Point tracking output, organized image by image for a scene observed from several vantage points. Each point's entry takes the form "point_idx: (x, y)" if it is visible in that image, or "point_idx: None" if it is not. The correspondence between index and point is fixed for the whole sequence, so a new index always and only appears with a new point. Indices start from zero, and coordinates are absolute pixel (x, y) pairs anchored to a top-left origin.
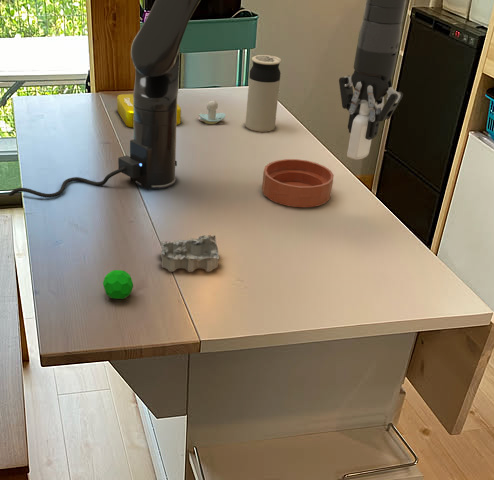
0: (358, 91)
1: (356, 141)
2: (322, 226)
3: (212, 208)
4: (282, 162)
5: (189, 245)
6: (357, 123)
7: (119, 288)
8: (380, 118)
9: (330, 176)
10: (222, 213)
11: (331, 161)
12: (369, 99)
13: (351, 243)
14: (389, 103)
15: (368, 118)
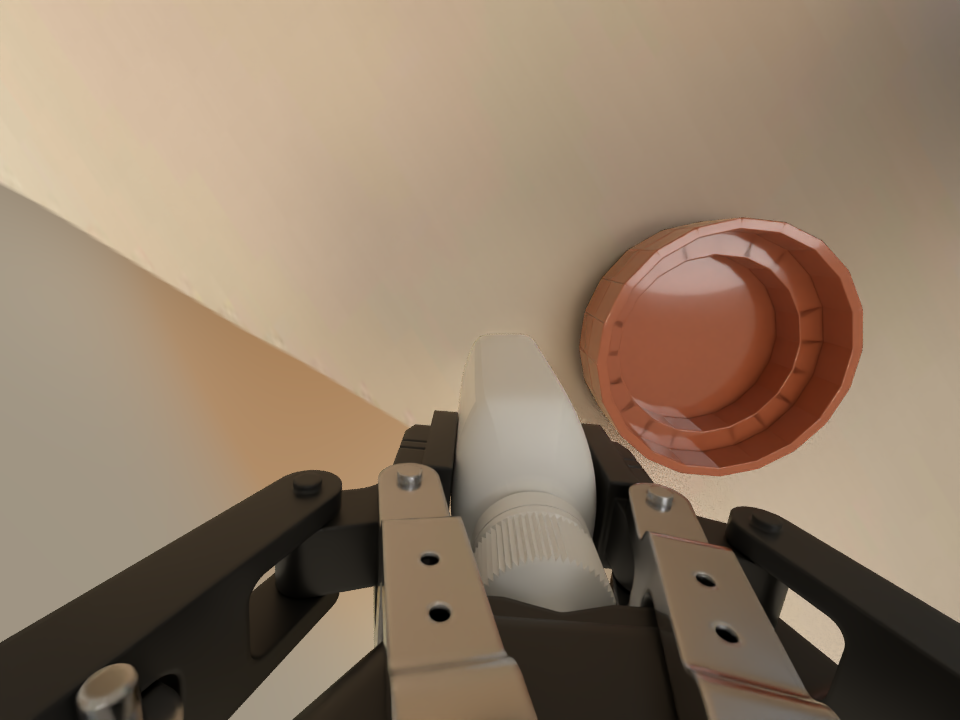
0: (722, 672)
1: (491, 355)
2: (501, 203)
3: (863, 12)
4: (825, 399)
5: None
6: (519, 395)
7: None
8: (303, 479)
9: (628, 428)
10: (813, 7)
11: None
12: (460, 593)
13: (371, 171)
14: (95, 625)
15: (469, 496)
